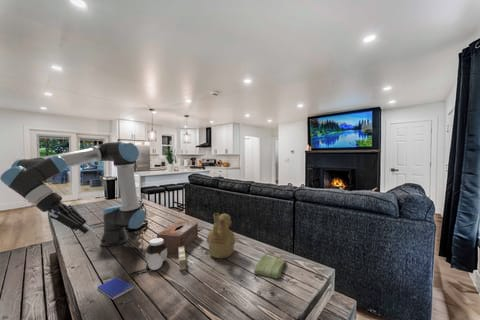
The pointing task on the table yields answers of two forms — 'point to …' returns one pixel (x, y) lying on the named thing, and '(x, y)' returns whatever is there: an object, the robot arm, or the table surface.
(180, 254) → the ash stop
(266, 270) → the washcloth
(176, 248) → the tissue box cover
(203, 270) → the table surface
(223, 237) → the ceramic vessel
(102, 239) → the robot arm
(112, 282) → the hard drive
